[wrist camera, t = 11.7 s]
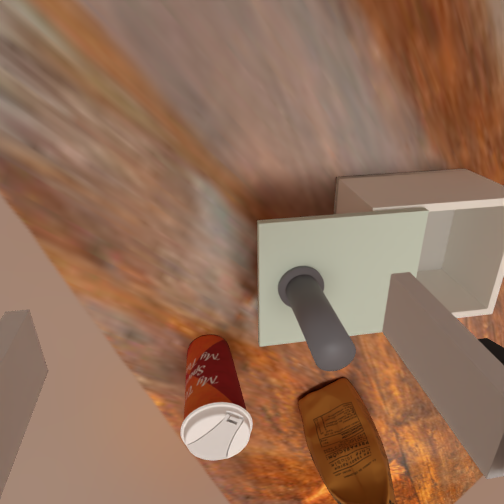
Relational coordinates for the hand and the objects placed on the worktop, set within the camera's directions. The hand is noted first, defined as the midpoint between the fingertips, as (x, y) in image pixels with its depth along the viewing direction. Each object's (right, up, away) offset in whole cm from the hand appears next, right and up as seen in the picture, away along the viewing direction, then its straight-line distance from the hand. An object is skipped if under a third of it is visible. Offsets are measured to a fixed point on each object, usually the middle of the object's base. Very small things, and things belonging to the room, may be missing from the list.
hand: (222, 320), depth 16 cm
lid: (+10, 0, +26) cm, 28 cm away
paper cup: (-5, -11, +41) cm, 42 cm away
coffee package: (+13, -22, +50) cm, 56 cm away
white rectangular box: (+19, +6, +37) cm, 42 cm away
